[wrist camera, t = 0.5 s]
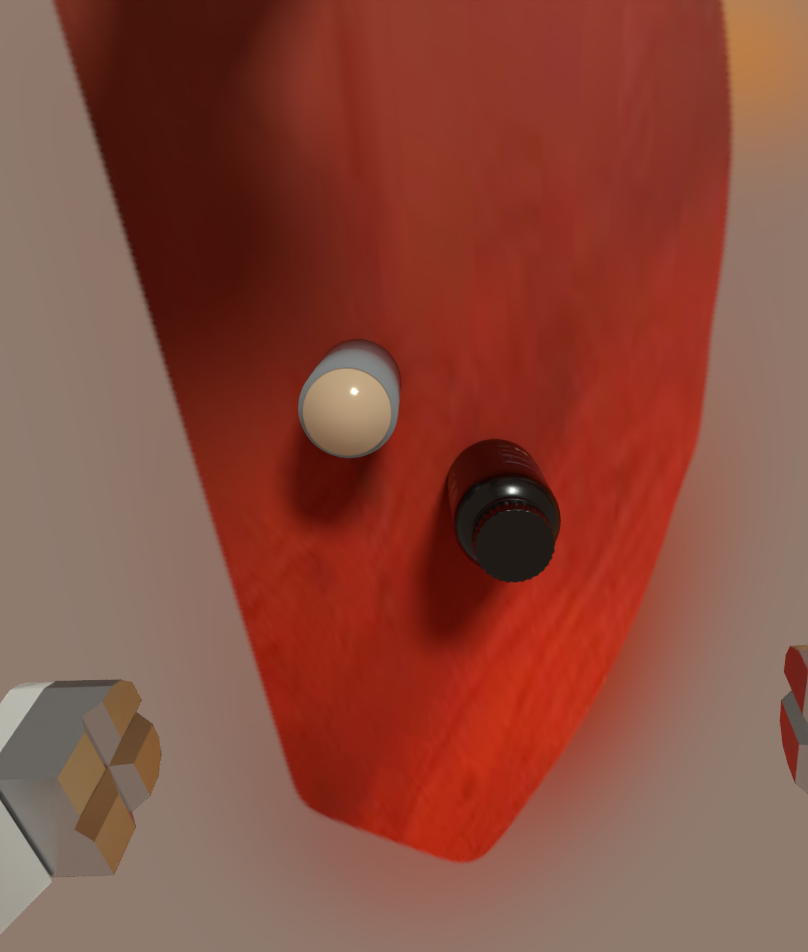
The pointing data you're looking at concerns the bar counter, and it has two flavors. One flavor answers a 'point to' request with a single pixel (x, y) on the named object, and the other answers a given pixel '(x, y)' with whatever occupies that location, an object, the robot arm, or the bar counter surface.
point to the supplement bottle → (503, 510)
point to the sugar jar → (351, 399)
